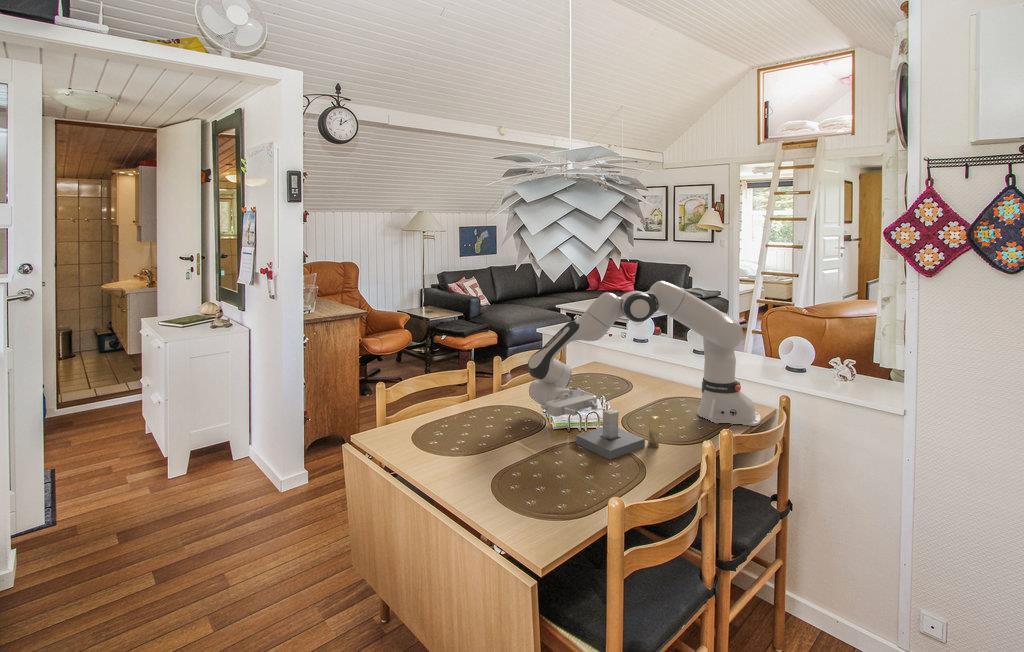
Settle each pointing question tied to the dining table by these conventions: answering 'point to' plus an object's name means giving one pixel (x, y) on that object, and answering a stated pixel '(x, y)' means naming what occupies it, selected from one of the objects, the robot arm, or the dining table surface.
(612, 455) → the bore block
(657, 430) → the round bit
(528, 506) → the dining table surface
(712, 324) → the robot arm
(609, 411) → the square bit
